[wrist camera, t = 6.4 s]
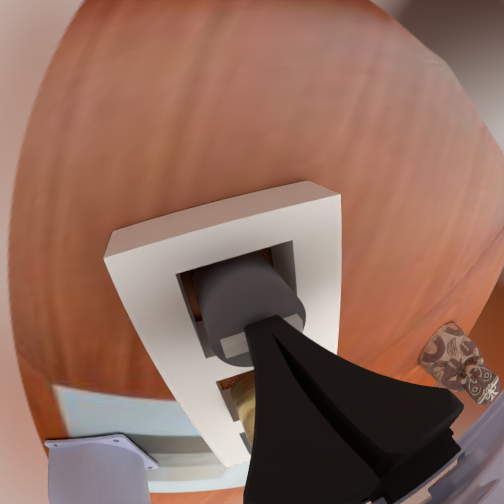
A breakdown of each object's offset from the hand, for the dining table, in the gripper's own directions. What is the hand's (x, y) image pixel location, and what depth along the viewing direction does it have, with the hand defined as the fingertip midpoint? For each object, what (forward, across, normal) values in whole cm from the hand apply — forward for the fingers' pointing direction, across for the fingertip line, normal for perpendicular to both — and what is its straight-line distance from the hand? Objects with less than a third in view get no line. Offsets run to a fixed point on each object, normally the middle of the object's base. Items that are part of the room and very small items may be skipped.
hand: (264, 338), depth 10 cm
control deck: (+5, 0, +7) cm, 9 cm away
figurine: (+6, -24, +20) cm, 32 cm away
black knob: (+5, 0, 0) cm, 5 cm away
